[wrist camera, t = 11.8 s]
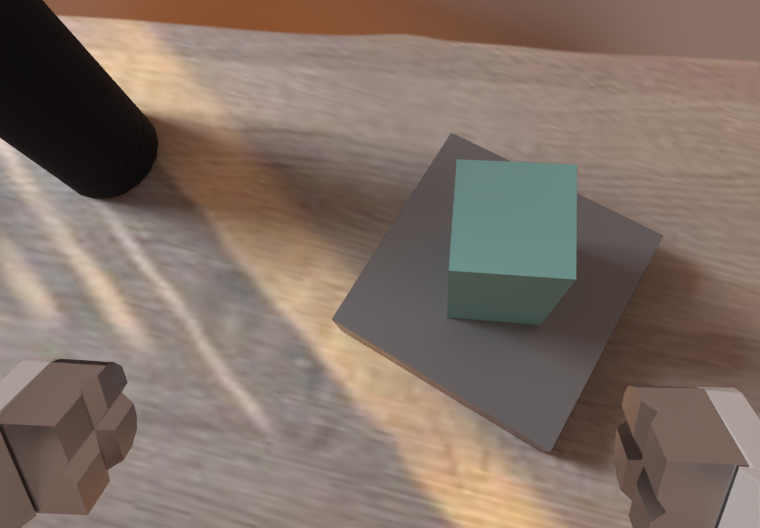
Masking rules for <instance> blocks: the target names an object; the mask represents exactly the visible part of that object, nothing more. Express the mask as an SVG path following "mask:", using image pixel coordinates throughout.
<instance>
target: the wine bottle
mask: <svg viewBox="0 0 760 528" xmlns="http://www.w3.org/2000/svg"><path fill="white" fill-rule="evenodd" d="M0 138H1V139H3V140H4V141H6V142H7V143H8V144H10V145H11V146H13V147H14V148H15V149H17V150H18V151H20V152H21V153H23V154H24V155H25V156H27V157H28V158H30V159H31V160H32V161H34V162H35V163H37V164H38V165H39V166H41V167H42V168H44V169H45V170H47V171H48V172H49V173H51V174H52V175H54V176H55V177H56V178H58V179H59V180H61V181H62V182H64V183H65V184H66V185H68V186H69V187H71V188H72V189H73V190H75V191H76V192H78V193H79V194H81V195H84V196H88V197H91V198H111V197H114V196H117V195H119V194H122V193H125V192H127V191H128V190H130V189H131V188H133V187H134V186H136V185H137V184H139V183H140V182H141V180H142V179H143V178H144V177H145V176H146V175H147V173H148V172H149V171H150V169H151V167H152V165H153V163H154V160H155V158H156V154H157V146H158V140H157V136H156V132H155V129H154V127H153V126H152V124H151V123H150V121H149V120H148V119H147V117H146V116H145V115H144V114H143V113H142V112H141V111H140V109H139V108H138V107H137V106H136V105H135V104H134V103H133V102H132V100H131V99H130V98H129V97H128V96H127V95H126V94H125V93H124V91H123V90H122V89H121V88H120V87H119V86H118V85H117V84H116V82H115V81H114V80H113V79H112V78H111V77H110V76H109V75H108V73H107V72H106V71H105V70H104V69H103V68H102V67H101V66H100V64H99V63H98V62H97V61H96V60H95V59H94V58H93V57H92V55H91V54H90V53H89V52H88V51H87V50H86V49H85V48H84V46H83V45H82V44H81V43H80V42H79V41H78V40H77V39H76V37H75V36H74V35H73V34H72V33H71V32H70V31H69V29H68V28H67V27H66V26H65V25H64V24H63V23H62V22H61V20H60V19H59V18H58V17H57V16H56V15H55V14H54V13H53V11H52V10H51V9H50V8H49V7H48V6H47V5H46V4H45V2H44V1H43V0H0Z"/></svg>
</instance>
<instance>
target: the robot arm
mask: <svg viewBox="0 0 760 528" xmlns="http://www.w3.org/2000/svg"><path fill="white" fill-rule="evenodd" d="M126 384H127V380H126V377H125V374H124V371H123V368H122V366H120V365H118V364H116V363H114V362H101V361H86V360H71V359H50V358H30V359H26V360H23V361H21V362H20V363H19V364H18V365H17V366H16V367H15V368H14V369H13V370H12V371H11V372H10V373H9V374H8V375H6V376H5V377H4V378H3V379H2V380H1V381H0V528H21V527H22V526H23V525H25V524H26V523H27V522H29V521H30V520H31V519H33V518H34V517H35V516H36V513H54V514H77V515H88V514H89V512H90V511H91V509H92V508H93V506H94V505H95V503H96V502H97V500H98V499H99V497H100V496H101V494H102V492H103V491H104V489H105V488H106V486H107V485H108V483H109V482H110V479H109V474H108V469H110V468H112V467H113V466H115V465H116V464H118V463H119V462H121V461H123V460H124V458H125V457H126V455H127V454H128V452H129V450H130V449H131V447H132V445H133V441H134V437H135V434H136V430H137V415H136V411H135V407H134V404H133V403H132V402H131V401H130V400H129V399H128V398H127V397H126V396H125V395H124V394H123V393H122V391H123V389H124V388H125V386H126ZM622 408H623V411H624V414H625V417H626V419H627V420H626V421H625V422H624V423H623V424H621V425H620V426H619V427H618V428H617V431H616V437H615V443H614V464H615V470H616V476H617V479H618V483H619V486H620V489H621V491H622V492H623V493H624V494H625V495H626V496H628V497H629V498H630V499H631V500H632V504H631V508H630V512H629V518H630V521H631V524H632V527H633V528H760V419H759V418H758V416H757V415H756V413H755V412H754V410H753V409H752V407H751V406H750V404H749V403H748V401H747V400H746V398H745V397H744V395H743V394H742V393H741V392H740V391H739V390H737V389H736V388H733V387H698V388H690V387H664V386H638V385H628V387H627V389H626V391H625V393H624V397H623V402H622Z"/></svg>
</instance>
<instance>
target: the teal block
mask: <svg viewBox="0 0 760 528" xmlns="http://www.w3.org/2000/svg"><path fill="white" fill-rule="evenodd" d="M576 243H577V165H570V164H548V163H527V162H505V161H483V160H461V159H457V162H456V176H455V190H454V204H453V218H452V231H451V245H450V259H449V275H448V301H447V318H459V319H471V320H484V321H497V322H509V323H522V324H534V325H541V324H542V322H543V321H544V320H545V319H546V317H547V316H548V315H549V313H550V312H551V311H552V310H553V308H554V307H555V306H556V305H557V303H558V302H559V301H560V300H561V298H562V297H563V296H564V294H565V293H566V292H567V291H568V289H569V288H570V287H571V286H572V284H573V283H574V282H575V281H576Z"/></svg>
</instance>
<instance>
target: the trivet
mask: <svg viewBox="0 0 760 528" xmlns="http://www.w3.org/2000/svg"><path fill="white" fill-rule="evenodd" d="M457 159H461V160H483V161H505V162H511V161H509V160H507V159H504V158H502V157H500V156H498V155H496V154H494V153H492V152H490V151H488V150H486V149H484V148H482V147H480V146H478V145H476V144H474V143H472V142H469V141H467V140H465V139H463V138H461V137H459V136H457V135H455V134H453V133H451V134H450V136H449V137H448V139H447V140H446V142H445V143H444V145H443V147H442V148H441V150H440V151H439V153H438V154H437V156H436V157H435V159H434V161H433V162H432V164H431V165H430V167H429V168H428V170H427V172H426V173H425V175H424V176H423V178H422V179H421V181H420V182H419V184H418V186H417V187H416V189H415V190H414V192H413V193H412V195H411V196H410V198H409V200H408V201H407V203H406V204H405V206H404V207H403V209H402V211H401V212H400V214H399V215H398V217H397V218H396V220H395V221H394V223H393V225H392V226H391V228H390V229H389V231H388V232H387V234H386V236H385V237H384V239H383V240H382V242H381V243H380V245H379V246H378V248H377V250H376V251H375V253H374V254H373V256H372V257H371V259H370V260H369V262H368V264H367V265H366V267H365V268H364V270H363V271H362V273H361V275H360V276H359V278H358V279H357V281H356V282H355V284H354V285H353V287H352V289H351V290H350V292H349V293H348V295H347V296H346V298H345V299H344V301H343V303H342V304H341V306H340V307H339V309H338V310H337V312H336V314H335V315H334V317H333V318H332V320H333V321H334V322H335V324H336V325H337V326H338V327H339V328H340V330H341V331H343V332H344V333H346V334H348V335H349V336H351V337H353V338H354V339H356V340H357V341H359V342H361V343H362V344H364V345H366V346H367V347H369V348H371V349H372V350H374V351H376V352H377V353H379V354H381V355H382V356H384V357H385V358H387V359H389V360H390V361H392V362H394V363H395V364H397V365H399V366H400V367H402V368H404V369H405V370H407V371H408V372H410V373H412V374H413V375H415V376H417V377H418V378H420V379H422V380H423V381H425V382H427V383H428V384H430V385H431V386H433V387H435V388H436V389H438V390H440V391H441V392H443V393H445V394H446V395H448V396H450V397H451V398H453V399H455V400H456V401H458V402H459V403H461V404H463V405H464V406H466V407H468V408H469V409H471V410H473V411H474V412H476V413H478V414H479V415H481V416H482V417H484V418H486V419H487V420H489V421H491V422H492V423H494V424H496V425H497V426H499V427H501V428H502V429H504V430H505V431H507V432H509V433H510V434H512V435H514V436H515V437H517V438H519V439H520V440H522V441H524V442H525V443H527V444H529V445H530V446H532V447H533V448H535V449H537V450H538V451H540V452H551V450H552V448H553V446H554V444H555V442H556V440H557V438H558V436H559V434H560V433H561V431H562V429H563V427H564V425H565V423H566V421H567V419H568V417H569V415H570V413H571V411H572V410H573V408H574V406H575V404H576V402H577V400H578V398H579V396H580V394H581V392H582V390H583V388H584V387H585V385H586V383H587V381H588V379H589V377H590V375H591V373H592V371H593V369H594V367H595V365H596V364H597V362H598V360H599V358H600V356H601V354H602V352H603V350H604V348H605V346H606V344H607V342H608V341H609V339H610V337H611V335H612V333H613V331H614V329H615V327H616V325H617V323H618V321H619V319H620V318H621V316H622V314H623V312H624V310H625V308H626V306H627V304H628V302H629V300H630V298H631V297H632V295H633V293H634V291H635V289H636V287H637V285H638V283H639V281H640V279H641V277H642V275H643V274H644V272H645V270H646V268H647V266H648V264H649V262H650V260H651V258H652V256H653V254H654V252H655V251H656V249H657V247H658V245H659V243H660V241H661V239H662V237H663V235H661V234H659V233H657V232H655V231H653V230H651V229H649V228H647V227H645V226H643V225H640V224H638V223H636V222H634V221H632V220H630V219H628V218H626V217H624V216H622V215H620V214H618V213H616V212H614V211H612V210H610V209H607V208H605V207H603V206H601V205H599V204H597V203H595V202H593V201H591V200H589V199H587V198H585V197H583V196H581V195H579V194H577V243H576V281H575V282H574V283H573V284H572V286H571V287H570V288H569V289H568V291H567V292H566V293H565V294H564V296H563V297H562V298H561V300H560V301H559V302H558V303H557V305H556V306H555V307H554V308H553V310H552V311H551V312H550V313H549V315H548V316H547V317H546V319H545V320H544V321H543V322H542V324H541V325H534V324H522V323H509V322H497V321H484V320H471V319H459V318H447V301H448V275H449V259H450V245H451V231H452V218H453V204H454V190H455V176H456V162H457Z"/></svg>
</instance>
